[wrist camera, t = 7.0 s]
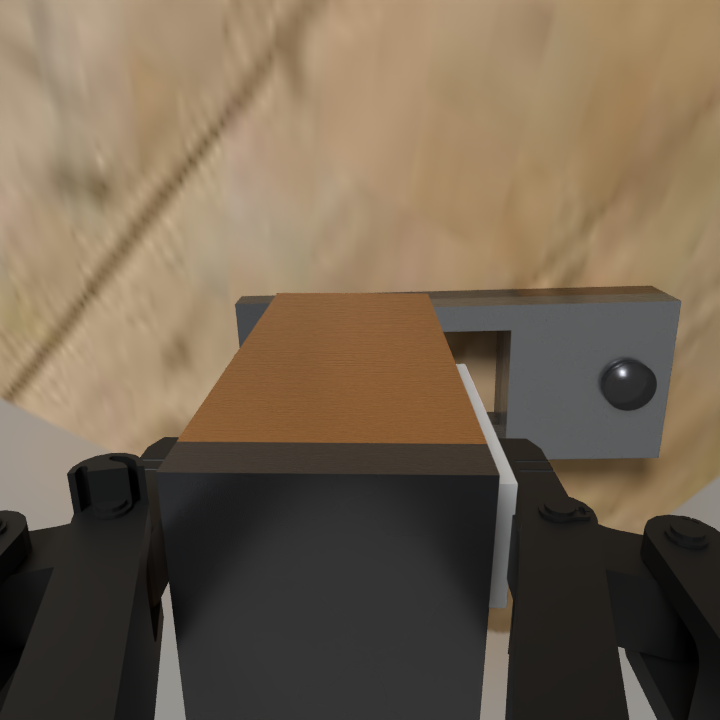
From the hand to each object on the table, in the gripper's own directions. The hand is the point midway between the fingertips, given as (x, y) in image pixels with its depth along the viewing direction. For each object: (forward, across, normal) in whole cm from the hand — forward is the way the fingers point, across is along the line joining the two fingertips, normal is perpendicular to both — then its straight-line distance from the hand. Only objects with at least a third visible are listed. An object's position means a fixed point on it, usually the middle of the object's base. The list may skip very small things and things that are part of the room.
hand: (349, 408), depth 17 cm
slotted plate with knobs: (+22, +5, -6) cm, 24 cm away
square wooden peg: (+4, 0, 0) cm, 4 cm away
